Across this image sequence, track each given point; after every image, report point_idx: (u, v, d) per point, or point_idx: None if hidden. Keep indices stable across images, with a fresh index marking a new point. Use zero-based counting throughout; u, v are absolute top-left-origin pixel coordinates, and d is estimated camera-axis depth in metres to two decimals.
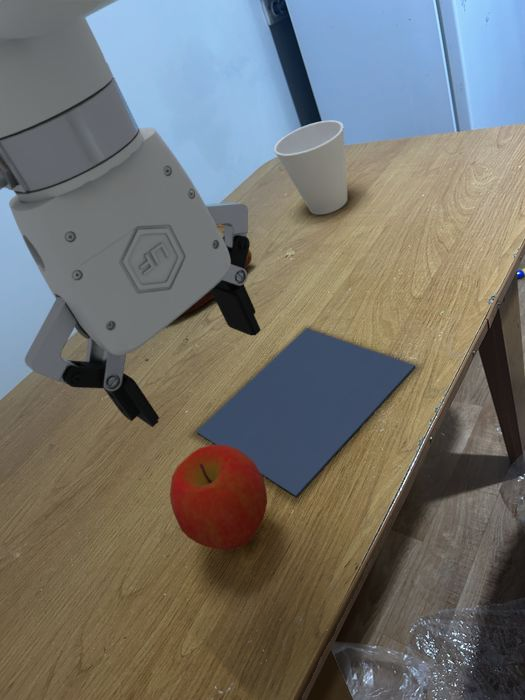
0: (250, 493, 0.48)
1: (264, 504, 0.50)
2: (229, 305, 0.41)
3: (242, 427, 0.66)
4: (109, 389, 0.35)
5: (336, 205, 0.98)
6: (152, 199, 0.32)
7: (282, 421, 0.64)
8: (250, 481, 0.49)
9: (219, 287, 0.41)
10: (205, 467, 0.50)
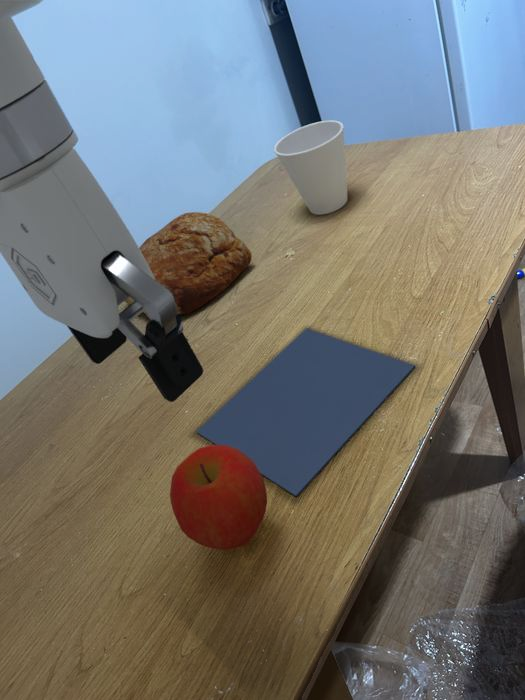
0: (250, 493, 0.48)
1: (264, 504, 0.50)
2: None
3: (242, 427, 0.66)
4: None
5: (336, 205, 0.98)
6: (16, 239, 0.32)
7: (282, 421, 0.64)
8: (250, 481, 0.49)
9: None
10: (205, 467, 0.50)
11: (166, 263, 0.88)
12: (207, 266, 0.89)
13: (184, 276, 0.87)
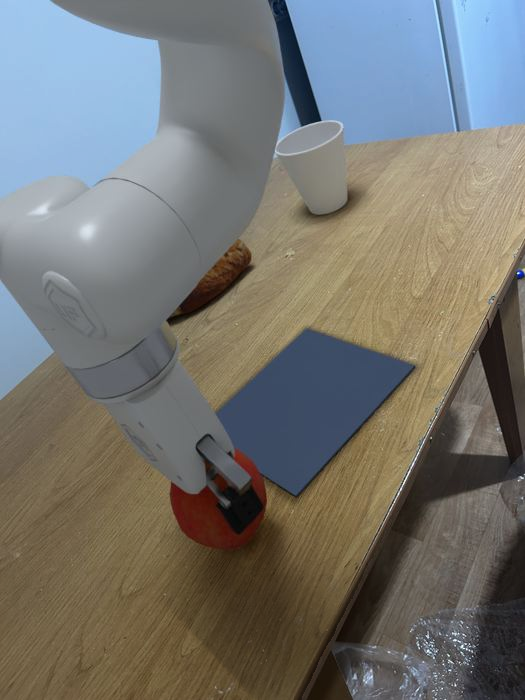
0: None
1: (264, 504, 0.50)
2: None
3: (242, 427, 0.66)
4: None
5: (336, 205, 0.98)
6: (131, 425, 0.41)
7: (282, 421, 0.64)
8: None
9: None
10: (205, 467, 0.50)
11: None
12: None
13: None
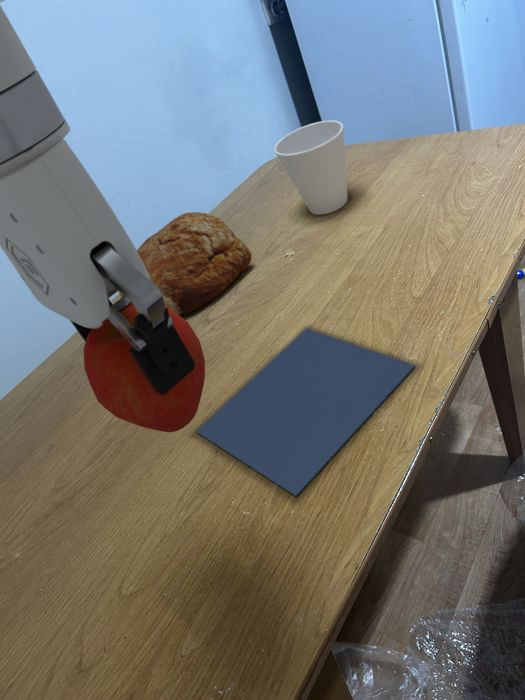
0: None
1: (199, 369, 0.41)
2: None
3: (242, 427, 0.66)
4: None
5: (336, 205, 0.98)
6: (8, 229, 0.32)
7: (282, 421, 0.64)
8: None
9: None
10: None
11: (166, 263, 0.88)
12: (207, 266, 0.89)
13: (184, 276, 0.87)
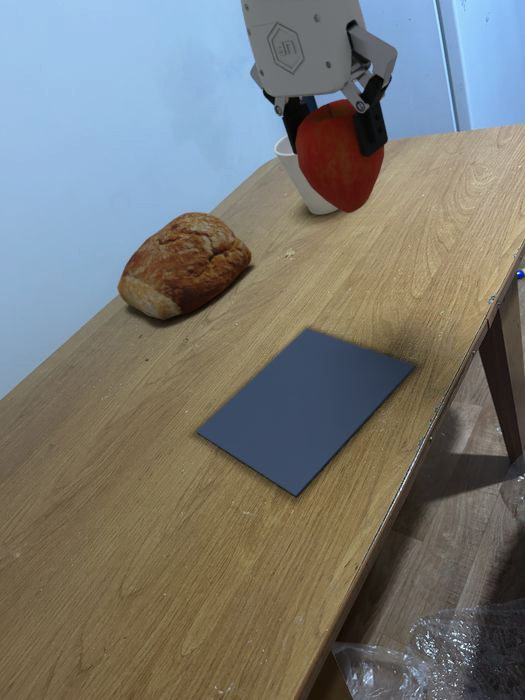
0: None
1: (383, 150, 0.55)
2: None
3: (242, 427, 0.66)
4: (276, 113, 0.57)
5: None
6: (288, 8, 0.46)
7: (282, 421, 0.64)
8: None
9: None
10: (329, 117, 0.55)
11: (166, 263, 0.88)
12: (207, 266, 0.89)
13: (184, 276, 0.87)
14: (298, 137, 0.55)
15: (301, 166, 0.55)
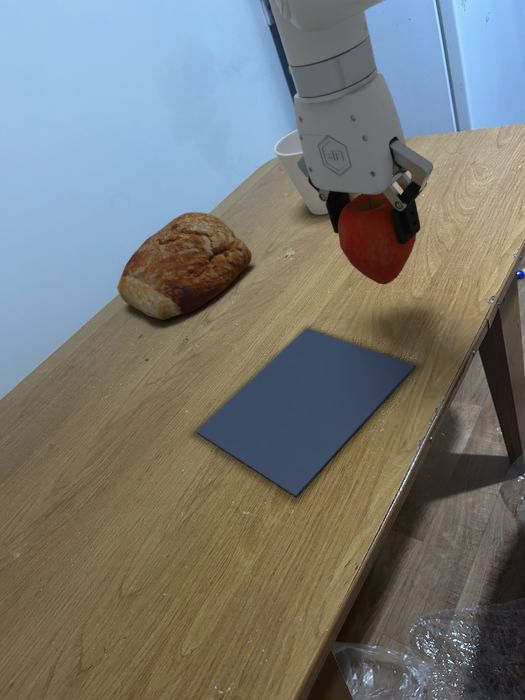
0: None
1: None
2: None
3: (242, 427, 0.66)
4: (320, 198, 0.64)
5: None
6: (339, 127, 0.53)
7: (282, 421, 0.64)
8: None
9: None
10: (368, 205, 0.63)
11: (166, 263, 0.88)
12: (207, 266, 0.89)
13: (184, 276, 0.87)
14: (341, 223, 0.62)
15: (343, 247, 0.63)
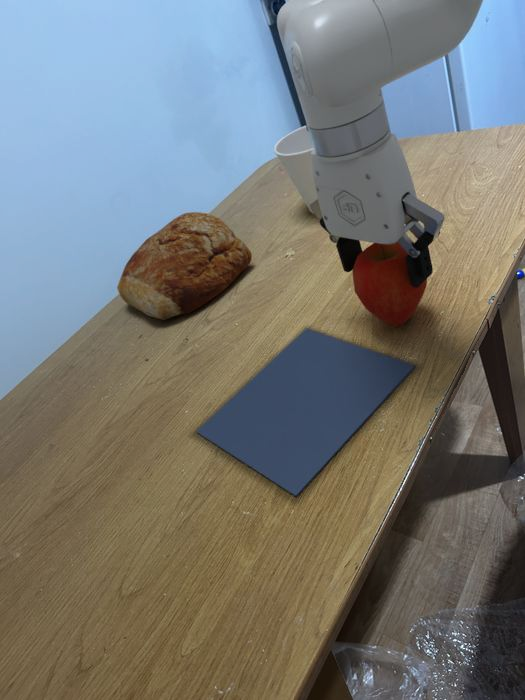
0: None
1: (426, 281, 0.66)
2: None
3: (242, 427, 0.66)
4: (331, 240, 0.68)
5: None
6: (355, 183, 0.57)
7: (282, 421, 0.64)
8: None
9: None
10: (381, 253, 0.66)
11: (167, 263, 0.88)
12: (207, 266, 0.89)
13: (184, 276, 0.87)
14: (356, 270, 0.66)
15: (357, 293, 0.67)
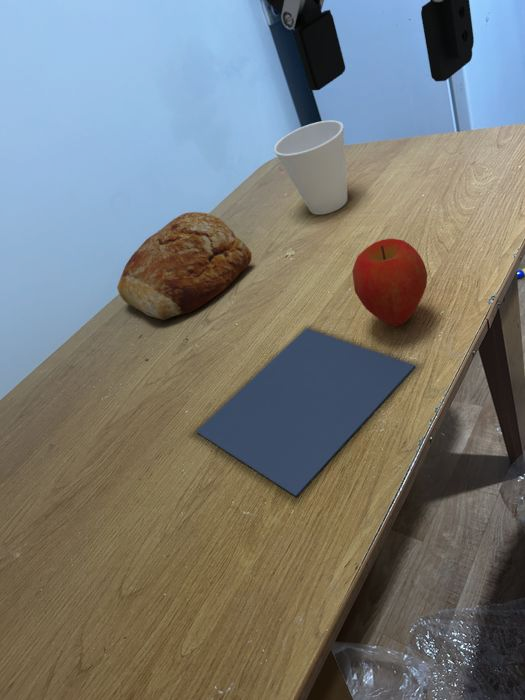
0: (420, 266, 0.64)
1: (426, 281, 0.66)
2: None
3: (242, 427, 0.66)
4: (285, 24, 0.38)
5: (336, 205, 0.98)
6: None
7: (282, 421, 0.64)
8: (419, 258, 0.65)
9: None
10: (381, 253, 0.66)
11: (167, 263, 0.88)
12: (207, 266, 0.89)
13: (184, 276, 0.87)
14: (356, 270, 0.66)
15: (357, 293, 0.67)
